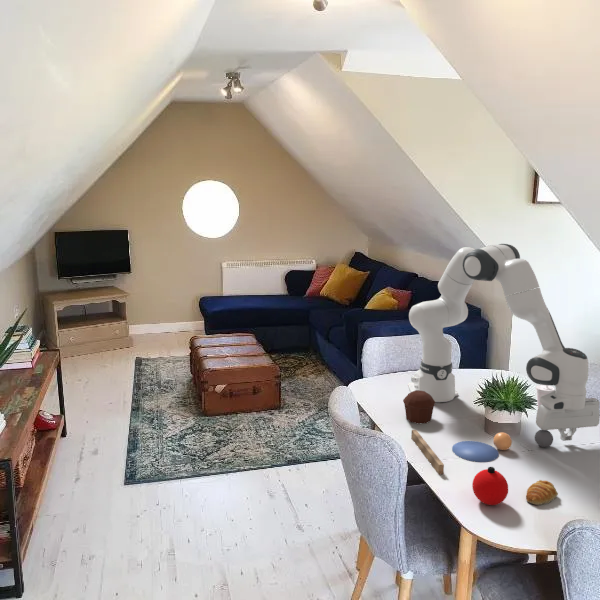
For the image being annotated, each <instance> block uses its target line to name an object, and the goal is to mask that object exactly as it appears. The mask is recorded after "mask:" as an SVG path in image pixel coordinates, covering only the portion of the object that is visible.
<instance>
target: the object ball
mask: <svg viewBox="0 0 600 600" xmlns="http://www.w3.org/2000/svg"><path fill="white" fill-rule="evenodd" d="M492 441H493V445H494V446H495V449H498V450H500V451H507V450H509V449H510V448H511V447H512V444H513V440H512V437H511V436H510V435H509V434H508V433H506V432H503V431H502V432H497V433H496V434H495V435H494V437H493V439H492Z"/></svg>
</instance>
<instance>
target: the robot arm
mask: <svg viewBox="0 0 600 600" xmlns="http://www.w3.org/2000/svg"><path fill="white" fill-rule="evenodd" d="M494 280H496V281H498V282H499V283H500V285H501V288H502V291H503V294H504V298H505V302H506V305H507V307H508V308H509V311H510V312H511V314H512V315H513V316H514V317H516V318H518V319H521V320H524V321H526V322H528V323H530V324H531V325H532V326H533V328H534V329H535V332H536V334H537V337H538V340H539V343H540V344H541V345H540V346H541V348H542V352H541V353H540V354H537V355H535V356H533V357H531V358H530V359H529V360H528V361H527V363H526V366H525V371H526V373H527V377H528V378H529V380H531V382H533V383H534V384H536V385H548V386H553V387H554V388H555V391H553V392H551V393H549V394H547V395H544V396H542V397H540V403H542V404H541V405H540V406H539V407H538V406H537V411H536V418H535V424H536V426H537V427H538V428H539V429H540V430H548V431H552V430H558V432H559V434H560V438H559V439H560V440H561V441H563V442H567V441H572V440H573V436H574V435H575V433H576V432H577V428H578V429H579V428H593V427H594V428H595V427H597V426H598V425H599V424H600V401H599V399H597V398H596V397H589V398H588V397H587V388H586V387H587V382H588V380H589V379H588V378H589V359H588V356H587V355H586V353H584V352H583V351H581V350H579V349H577V348H572V347H565V346H564V344H563V342H562V339H561V337H560V335H559V332H558V330H557V326H556V324H555V322H554V319H553V317H552V314H551V312H550V310H549V308H548V307H547V305H546V302H545V299H544V296H543V295H542V291H541V288H540V284H539V281H538V278H537V276H536V274H535V271H534V269H533V268H532V265H531V264H530V263H529V261H528V260H526V259H524V258H521V255H520V252H519V250H518V249H517V247H515V246H514V245H512V244H508V243H499V244H491V245H487V246H484V247H483V246H482V247H481V248H473V247H469V246H466V247H465V246H464V247H460V249H458V250H457V251H456V252H455V254H454V255H453V256H452V258H451V259H450V261H449V262H448V264H447V266H446V268H445V270H444V271H443V273H442V276H441V277H440V279H439V281H438V284H437V289H438V292H439V293H440V294H441V295H440V296H439V298H437V299H433V300H426V301H422V302H418V303H416V304H414V305H412V306H411V308H410V309H409V312H408V320H409V323H410V324H411V326H412V328H414V329H415V330H416V331H417V332H418V334H419V336H420V338H421V345H422V353H421V354H422V355H421V356H422V359H421V361H420V364H419V366H420V367H419V369H418V370H417V371H415V372H414V374H413V376H411V380H410V381H411V382H410V381H409V382H408V383H407V386H408V391H409V393H411V392H413V391H417V390H419V391H425V392H426V393H428V394H430V395H431V396H432V398H433V399H434V401H435V403H445V402H450V401H452V400H454V398H455V397H458V396H459V392H458V391H456V377H455V375H454V373H452V371H453V361H452V356H453V355H452V352H453V343H452V342H451V341H450V340H449V339H448V338H446V337H445V335H444V328H448V327H454V326H457V325H459V324H461V323H463V322H464V321H466V319H467V318H468V315H469V308H468V306H467V303H466V302H465V301H466V297H467V295H468V293H469V291H470V290H471V288H472V287H473V284H474V282H475V281H483V282H484V281H485V282H492V281H494ZM567 429H568V431H567V432H566V430H567ZM565 432H566V433H565Z"/></svg>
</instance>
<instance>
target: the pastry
mask: <svg viewBox="0 0 600 600" xmlns="http://www.w3.org/2000/svg"><path fill="white" fill-rule="evenodd" d="M558 496H559V492H558V491H557V489H556V487H555V485H554V484H553V483H552V482H550V481H548V480H542V479H539V480H537V481H536V482H534V483H532V484H530V486H529V487H528V488H527V490H526V495H525V500H526V502H527V503H530V504H533V505H536V506H541V505H545V504H550V503H551V502H552V501H554V500H555V499H557V497H558Z"/></svg>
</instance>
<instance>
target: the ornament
mask: <svg viewBox="0 0 600 600" xmlns="http://www.w3.org/2000/svg"><path fill="white" fill-rule="evenodd" d="M471 487H472V491H473V494H474V496H475V497H476V499H477V500H478V501H480V502H481V503H483V504H485V505H488V506H497V505H499V504H501V503H503V502H505V500H506V499H507V496H508V494H509V485H508V481H507V479H506V477H505V476H504V475H503V474H502V473H501V472H499V471H497V470H496V469H495V467H494V466H488V467H487V468H486V469H482V470H481V471H479V472H477V474H476V475H475V476H474V477H473V480H472V486H471Z"/></svg>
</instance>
